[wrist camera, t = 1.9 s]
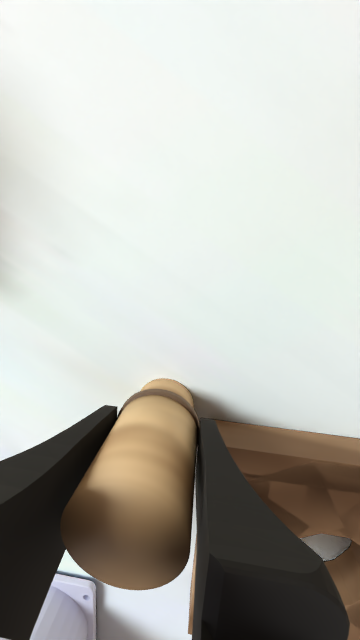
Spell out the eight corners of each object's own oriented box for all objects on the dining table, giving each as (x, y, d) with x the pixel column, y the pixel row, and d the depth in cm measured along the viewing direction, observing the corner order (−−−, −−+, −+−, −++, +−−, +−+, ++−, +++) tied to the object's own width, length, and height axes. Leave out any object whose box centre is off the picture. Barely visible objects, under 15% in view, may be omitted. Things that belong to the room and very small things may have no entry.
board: (398, 631, 15) (426, 684, 13) (190, 590, 17) (188, 633, 15) (467, 452, 12) (515, 487, 11) (209, 419, 14) (209, 444, 12)
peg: (197, 440, 14) (187, 604, 7) (129, 431, 14) (59, 578, 8) (204, 376, 13) (200, 493, 6) (131, 367, 14) (54, 470, 7)
